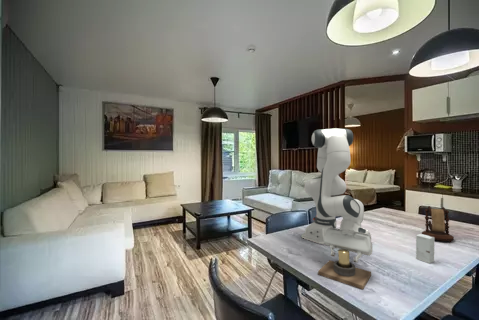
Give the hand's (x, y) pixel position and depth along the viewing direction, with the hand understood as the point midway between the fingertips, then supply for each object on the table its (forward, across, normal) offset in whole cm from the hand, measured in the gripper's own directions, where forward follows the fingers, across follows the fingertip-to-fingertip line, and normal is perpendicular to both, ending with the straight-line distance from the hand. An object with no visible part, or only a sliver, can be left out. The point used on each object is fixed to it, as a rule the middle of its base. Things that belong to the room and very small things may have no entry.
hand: (343, 258), depth 98 cm
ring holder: (+5, 0, +6) cm, 7 cm away
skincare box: (-23, +26, +33) cm, 48 cm away
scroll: (-52, +30, +62) cm, 86 cm away
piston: (+4, 0, +4) cm, 6 cm away
